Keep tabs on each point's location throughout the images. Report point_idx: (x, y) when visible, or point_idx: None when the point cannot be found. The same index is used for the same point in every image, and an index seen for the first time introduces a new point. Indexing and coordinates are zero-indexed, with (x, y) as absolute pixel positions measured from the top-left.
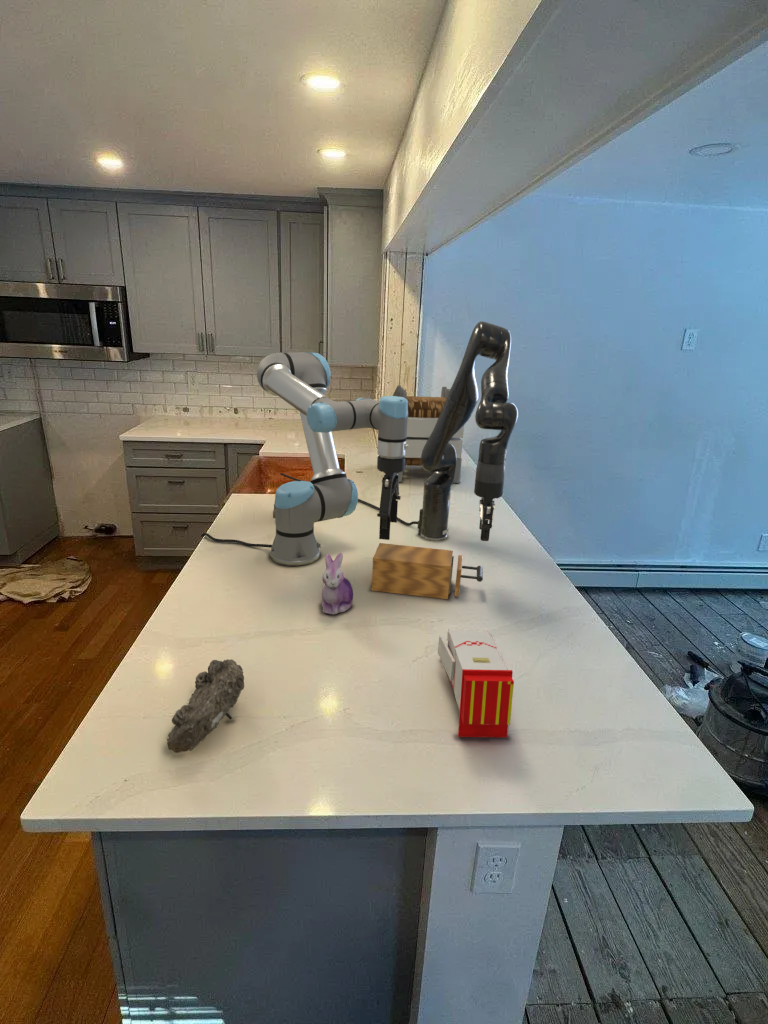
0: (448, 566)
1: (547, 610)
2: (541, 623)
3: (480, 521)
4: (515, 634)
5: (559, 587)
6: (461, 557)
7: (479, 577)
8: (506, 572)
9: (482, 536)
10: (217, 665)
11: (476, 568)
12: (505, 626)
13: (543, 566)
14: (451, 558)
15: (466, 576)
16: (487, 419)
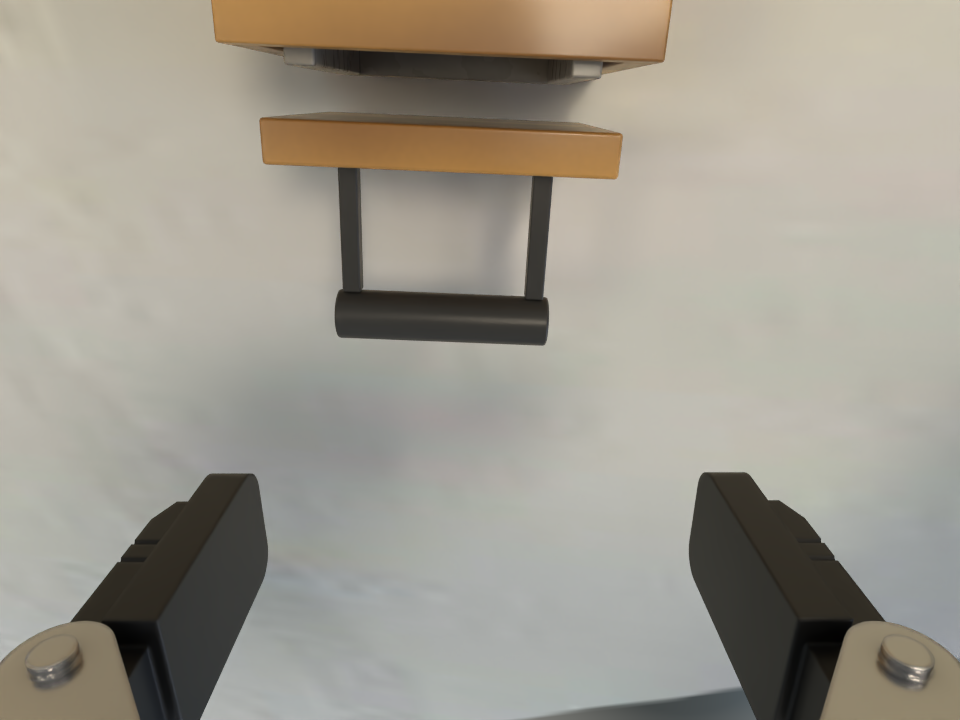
0: (214, 12)
1: (350, 604)
2: None
3: (756, 555)
4: (48, 446)
5: (613, 681)
6: (561, 165)
7: (336, 315)
8: (780, 458)
9: (161, 531)
10: None
11: (525, 296)
12: (107, 406)
13: None
14: (434, 46)
15: (340, 208)
16: None
